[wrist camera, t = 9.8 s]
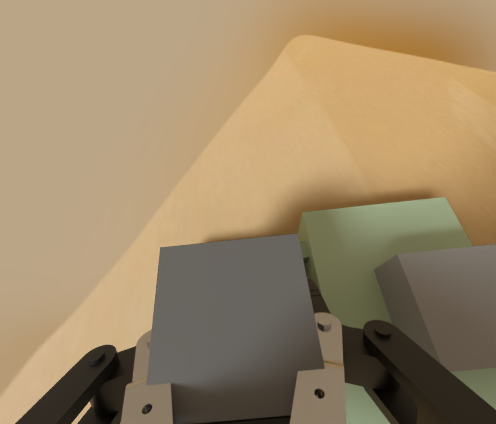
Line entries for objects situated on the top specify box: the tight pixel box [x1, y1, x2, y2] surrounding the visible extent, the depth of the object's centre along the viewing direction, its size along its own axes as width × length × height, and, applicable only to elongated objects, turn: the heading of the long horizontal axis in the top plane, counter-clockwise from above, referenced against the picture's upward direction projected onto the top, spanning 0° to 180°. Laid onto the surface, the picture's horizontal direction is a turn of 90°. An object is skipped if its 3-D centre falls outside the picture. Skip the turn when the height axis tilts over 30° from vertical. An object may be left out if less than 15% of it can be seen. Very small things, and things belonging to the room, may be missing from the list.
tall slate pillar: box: [146, 233, 325, 424], centre depth 12 cm, size 5×5×10 cm
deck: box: [297, 197, 496, 424], centre depth 14 cm, size 20×14×7 cm
